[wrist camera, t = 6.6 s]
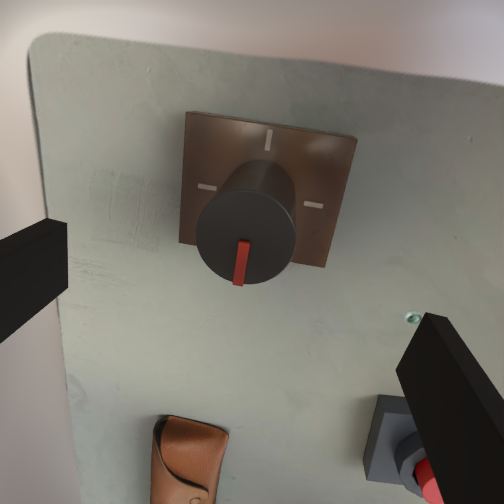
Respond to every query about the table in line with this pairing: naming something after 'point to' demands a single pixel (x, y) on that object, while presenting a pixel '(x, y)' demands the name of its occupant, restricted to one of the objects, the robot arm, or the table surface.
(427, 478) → the button
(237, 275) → the dial
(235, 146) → the knob panel
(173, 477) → the sunglasses case
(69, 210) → the table surface
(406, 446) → the button box
